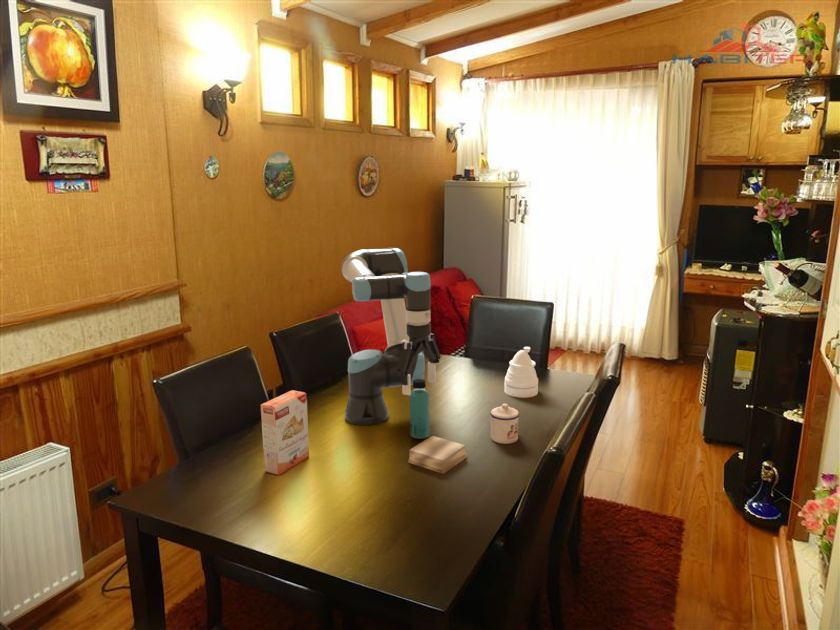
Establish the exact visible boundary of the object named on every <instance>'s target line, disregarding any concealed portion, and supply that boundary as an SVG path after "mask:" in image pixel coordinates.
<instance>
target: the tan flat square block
mask: <svg viewBox="0 0 840 630" xmlns="http://www.w3.org/2000/svg"><path fill="white" fill-rule="evenodd" d="M408 452H409V453H408V457H409V458H408V459H407V463H409V464H412V465H415V466H418V467H421V468H423V469H428V470H430V471H433V472H436V473H439V474H441V475H444V474H445V473H447V472H448V471H450V470H451V469H452V468H454V467H455V466H457V465H459V463H461V462H463V461H464V460H465V459H467V454H466V445H465V444H463V443H459V442H455V441H452V440H448V439H445V438H442V437H437V436H435V435H431V436H429V438H428V437H427V438H425V440H423V441H421V442H420V443H418V444H417V445H415V446H413V447H411V448H410V449H409V450H408Z"/></svg>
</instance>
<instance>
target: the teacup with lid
mask: <svg viewBox="0 0 840 630" xmlns="http://www.w3.org/2000/svg"><path fill="white" fill-rule="evenodd" d="M519 417H520V412H519V410H517V409H516V408H514V407H511V406H509V404H507V403H502V404H501V405H500V406H497V407H495V408H492V410H490V439H491V441H493V442H494V443H498V444H503V445H507V444H509V445H510V444H513V443H516V442H517V441H518V438H519Z"/></svg>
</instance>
